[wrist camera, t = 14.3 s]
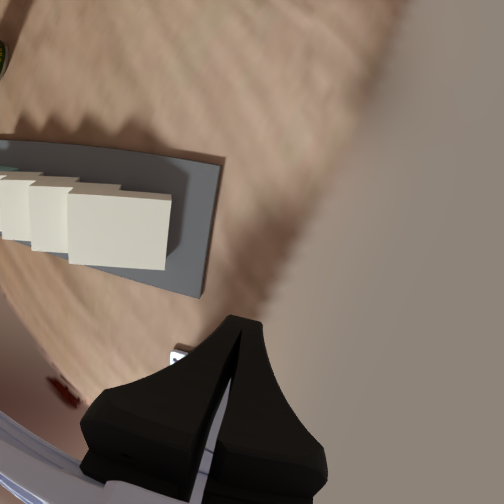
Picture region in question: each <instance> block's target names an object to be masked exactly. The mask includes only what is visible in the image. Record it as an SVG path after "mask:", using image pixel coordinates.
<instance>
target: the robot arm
mask: <svg viewBox="0 0 504 504" xmlns="http://www.w3.org/2000/svg"><path fill="white" fill-rule="evenodd" d="M175 358H177V359H178V360H177V359H175ZM80 426H81V430H82V433H83V435H84V438H85V440H86V443H87V445H88V447H89V450H88V452H87V453H86V455H85V457H84V459H83V460H82V461H80V460H78V459H76V458H74V457H72V456H71V455H69V454H67V453H65V452H63V451H61V450H60V449H58V448H56V447H55V446H53V445H51V444H49V443H48V442H46V441H44V440H43V439H41V438H40V437H38V436H36V435H35V434H33V433H32V432H30V431H29V430H27V429H26V428H24V427H22V426H21V425H20V424H18V423H17V422H15V421H14V420H12V419H11V418H10V417H8V416H7V415H6V414H4V413H3V412H1V411H0V484H1V485H2V486H3V487H5V488H6V489H7V490H9V491H10V492H11V493H13V494H14V495H15V496H16V497H18V498H19V499H20V500H22V501H23V502H24V503H26V504H313V496H314V495H315V494H316V493H317V492H318V491H319V490H320V489H321V488H322V487H323V486H324V485H325V484H326V482H327V477H328V468H327V462H326V456H325V452H324V448H323V447H322V445H321V444H320V443H319V442H317V440H316V439H315V438H314V437H313V436H312V435H311V434H310V433H309V432H308V431H307V429H306V428H305V427H304V425H303V424H302V423H301V422H300V420H299V419H298V417H297V416H296V414H295V413H294V411H293V410H292V408H291V407H290V405H289V404H288V402H287V400H286V399H285V397H284V395H283V393H282V391H281V389H280V387H279V385H278V383H277V381H276V378H275V376H274V373H273V370H272V368H271V365H270V362H269V358H268V355H267V351H266V347H265V343H264V337H263V325H262V323H261V322H259V321H254V320H250V319H246V318H242V317H238V316H234V315H228V316H227V317H226V318H225V320H224V321H223V322H222V323H221V325H220V326H219V327H218V328H217V329H216V330H215V331H214V332H213V333H212V334H211V335H210V336H209V337H208V338H207V339H205V340H204V341H203V342H202V343H201V344H200V345H198V346H197V347H196V348H195V349H193V350H192V351H191V352H190V353H187V352H183V351H180V350H176V349H175V350H172V352H171V355H170V365H169V366H168V367H166V368H164V369H162V370H160V371H158V372H156V373H154V374H152V375H150V376H147V377H145V378H142V379H140V380H137V381H134V382H132V383H129V384H125V385H121V386H118V387H114V388H110V389H105V390H104V391H103V392H102V393H101V394H100V395H99V396H98V397H97V398H96V399H95V400H94V402H93V403H92V404H91V406H90V407H89V408H88V410H87V411H86V413H85V415H84V416H83V418H82V419H81V422H80Z"/></svg>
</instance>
